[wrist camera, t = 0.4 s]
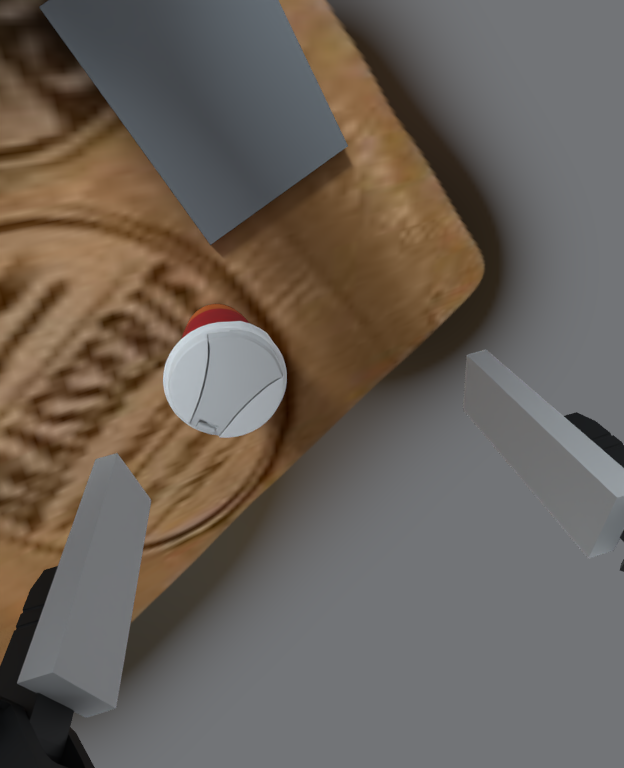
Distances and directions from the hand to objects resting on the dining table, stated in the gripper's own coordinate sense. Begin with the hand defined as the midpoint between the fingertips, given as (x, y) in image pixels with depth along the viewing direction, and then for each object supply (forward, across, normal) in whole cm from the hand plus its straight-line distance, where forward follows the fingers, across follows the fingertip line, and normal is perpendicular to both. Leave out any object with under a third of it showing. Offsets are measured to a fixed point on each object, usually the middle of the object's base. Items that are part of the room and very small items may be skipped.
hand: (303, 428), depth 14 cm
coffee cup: (+25, -6, -7) cm, 27 cm away
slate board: (+29, 0, +11) cm, 31 cm away
